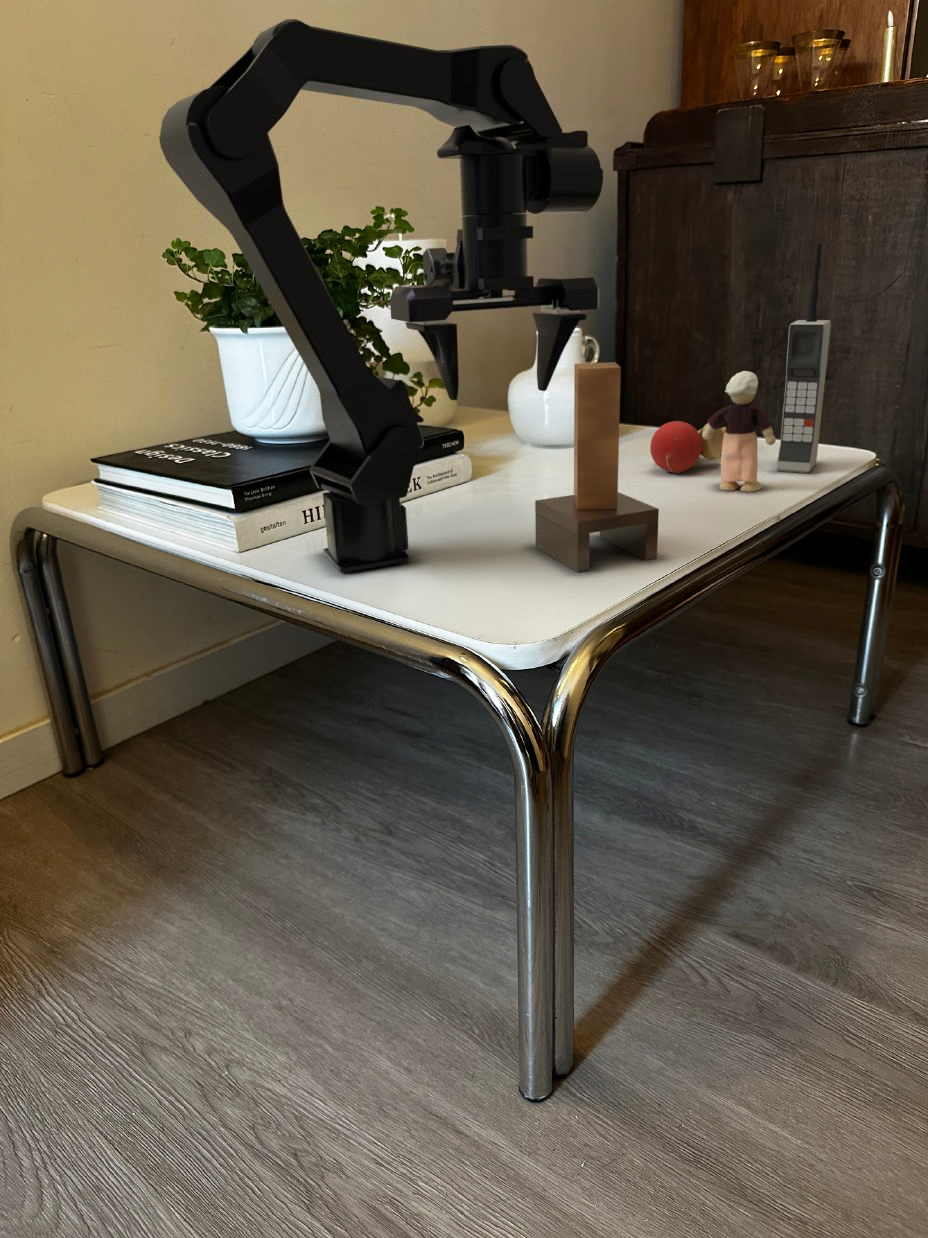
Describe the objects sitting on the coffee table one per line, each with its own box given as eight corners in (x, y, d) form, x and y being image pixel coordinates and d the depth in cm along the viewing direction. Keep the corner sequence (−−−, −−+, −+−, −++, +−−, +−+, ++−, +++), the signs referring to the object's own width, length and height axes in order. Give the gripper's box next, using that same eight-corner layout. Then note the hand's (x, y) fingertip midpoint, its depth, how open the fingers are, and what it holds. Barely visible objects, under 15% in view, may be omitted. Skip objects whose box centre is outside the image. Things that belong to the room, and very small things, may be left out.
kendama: (690, 455, 125) (628, 463, 111) (703, 408, 123) (642, 410, 109) (743, 471, 121) (686, 482, 107) (758, 423, 119) (702, 428, 105)
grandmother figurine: (770, 484, 104) (780, 368, 99) (771, 493, 100) (781, 373, 96) (700, 482, 106) (706, 368, 101) (698, 491, 103) (705, 373, 98)
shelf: (577, 572, 79) (577, 521, 77) (535, 547, 86) (534, 500, 84) (657, 558, 82) (659, 508, 80) (610, 534, 89) (611, 488, 87)
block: (577, 510, 81) (578, 368, 76) (573, 499, 84) (574, 363, 79) (617, 508, 81) (620, 367, 76) (612, 498, 84) (615, 361, 79)
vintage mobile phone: (776, 471, 110) (796, 243, 100) (784, 462, 114) (804, 242, 104) (809, 473, 108) (833, 242, 98) (816, 464, 112) (839, 241, 103)
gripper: (546, 215, 92) (547, 377, 98) (366, 221, 86) (378, 393, 91) (604, 210, 82) (601, 389, 88) (405, 217, 76) (416, 409, 82)
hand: (498, 394), depth 88 cm, fingers open, 9 cm apart
